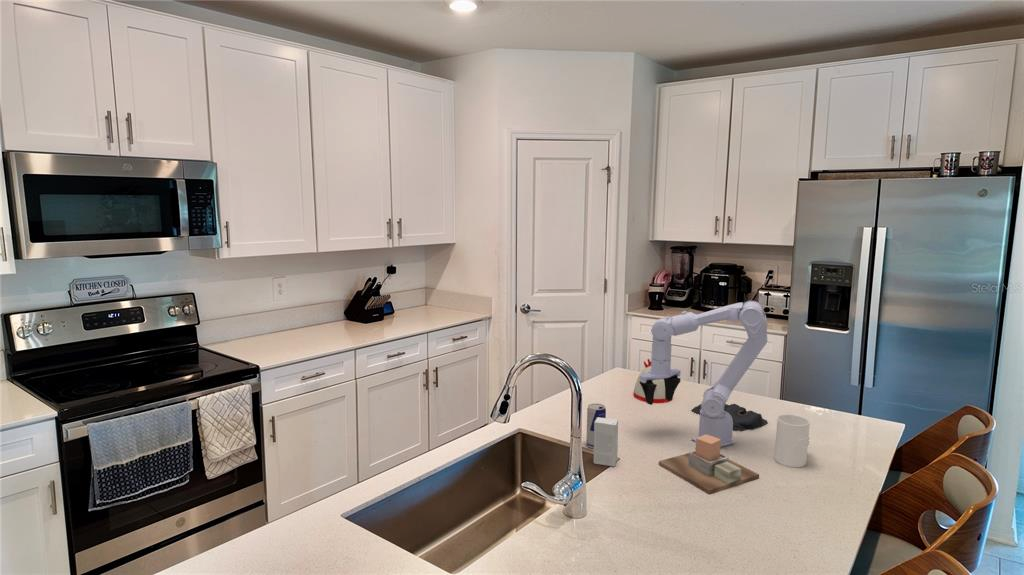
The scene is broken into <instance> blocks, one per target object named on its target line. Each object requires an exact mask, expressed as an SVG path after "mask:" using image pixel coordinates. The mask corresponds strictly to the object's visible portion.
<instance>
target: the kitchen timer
mask: <svg viewBox="0 0 1024 575" xmlns="http://www.w3.org/2000/svg"><path fill="white" fill-rule="evenodd" d="M643 364H644V369H643V370H641V372H640V374H639V375H638V377H637V379H636V383H635V385H634V387H633V388H634V389H633V397H634V398H635V399H637V400H639V401H641V402H643V403H646V398H645V394H644V391H643V388H642V386H641V384H640V375H643V374H645V373H648V372H650V370H651V360H650V359H649V358H648V359H647V363H646V361H645V360H644V361H643ZM652 382H653V383H654V384H656V385H657V386H656V389H655V392H654V400H653V404H664V403H669V402H671V401H669V400H667V399H665V383H664V379H658V380H653V381H652Z"/></svg>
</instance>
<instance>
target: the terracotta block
mask: <svg viewBox="0 0 1024 575" xmlns="http://www.w3.org/2000/svg"><path fill="white" fill-rule="evenodd" d="M697 437H698V436H697ZM721 448H722V447H721V439H718V438H715V437H713V436H710V435H707V434H705V435H703V436H701V437H698V438H696V441H695V451H696V453H695V455H696V456H698V457H700V458H702V459H704V460H706V461H709V462H711V461H714V460H716V459H718V458H720V453H721Z"/></svg>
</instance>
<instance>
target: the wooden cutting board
mask: <svg viewBox="0 0 1024 575" xmlns="http://www.w3.org/2000/svg"><path fill="white" fill-rule="evenodd" d="M695 453H696V450H693V451H690V452H687V453H684V454H679V455H677V456H676V455H675V456H674V457H670V458H666V459H662V460H659V461H658V465H659V466H660V465H661V466H660V467H662V468H663V467H664V468H663V469H665V468H666V469H665V470H667V471H668V472H670V471H671V472H670V473H672V474H674V475H675V474H676V476H677V475H678V476H677V477H679V478H680V479H682V478H683V479H682V480H684V481H686V482H687V481H688V482H687V483H689V482H690V483H689V484H691V485H692V484H693V485H692V486H694V485H695V486H694V487H696V488H698V489H699V488H700V489H699V490H701V491H703V492H704V491H705V492H704V493H706V494H708V495H711V494H714V493H718V492H721V491H723V490H727V489H729V488H732V487H736V486H739V485H742V484H745V483H748V482H751V481H754V480H758V479H760V474H759V473H758V472H756V471H753V470H751V469H749V468H747V467H745V466H744V465H741V464H740V463H737V462H735V461H733V460H732V459H729V458H730V457H729V456H727V455H725V454H723V453H721V452H720V458H718V459H716V460H714V461H711V462H709V461H706V460H704V459H702V458H700V457H698V456H696V455H695ZM720 490H721V491H720Z"/></svg>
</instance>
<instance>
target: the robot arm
mask: <svg viewBox="0 0 1024 575" xmlns="http://www.w3.org/2000/svg"><path fill="white" fill-rule="evenodd" d="M727 320H728V321H730V322H733V323H735V324H738V320H739V322H740V323H741V325H742V326H743V327H744V329H745V332H746V334H747V337H748V338H747V339H746V341H745V342H744V344H742V346H741V348H740V349H739V351H738V352H737V354H736V355H735V356H734V357H733V358H732V360H731V362H729V365H728V366H727V367H726V368H725V370H724V371H723V373H722V375H721V376H720V377H719V378H718V380H716V382H715V383H714V384H713V385H712V386H711V387H709V388H707V389H705V391H704V392H703V395H702V396H703V398H702V401H701V403H700V404H701V410H700V415H699V423H698V425H699V426H698V436H694V437H692V438H691V440H692V441H694V442H696V438H698V437H701V436H703V435H705V434H707V435H710V436H713V437H715V438H718V439H721V448H722V447H725V446H729V445H733V444H734V443H735V441H733V432H734V431H733V420H732V417H731V415H730V414H729V413H728V412H726V411H724V405H725V404H727V401H728V400H729V398H730V396H731V394H732V392H733V391H734V390H735V388H736V386H737V385H738V383H739V382H740V381H741V379H743V377H744V375H745V374H746V373H747V371H748V370H749V368H750V367H751V365H752V364H753V363H754V362H755V360H756V359H757V358H758V356H759V354H761V352H762V350H763V349H764V348H765V346H766V345H767V343H768V328H767V327H768V326H767V325H768V322H767V315H766V313H765V310H764V308H763V306H762V305H761V304H760V303H759V302H758V301H756V300H747V301H745V302H743V301H742V302H736V303H732V304H728V305H724V306H722V307H718V308H715V309H711V310H709V311H705V312H701V313H699V314H696V313H694V312H692V311H688V312H687V311H686V310H684V311H681V314H677V315H674V316H670V315H667V316H666V317H665V318H659V319H657V320H656V321H655V322H654V324H653V325H652V327H651V335H652V343H651V360H650V362H651V370H650V372H648V373H645V374H643V375H640V374H639V375H640V384H641V386H642V388H643V391H644V394H645V398H646V402H645V403H646V404H648V405H649V406H652V405H653V404H654V403H653V400H654V392H655V389H656V386H657V385H656V384H654V383H653V382H652V381H653V380H658V379H664V383H665V399H667V400H669V401H670V402H671V401H673V397H674V394H675V391H676V389H677V387H678V386H679V384H680V383H681V381H682V380H681V372H682V371H681V370H680V369H679V368H672V366H671V363H672V348H673V347H672V336H674V337H677V336H680V335H683V334H689V333H693V332H696V331H697V330H698V329H699V327H700V326H702V325H706V324H708V325H709V324H713V323H716V322H717V323H718V322H722V321H727Z"/></svg>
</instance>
